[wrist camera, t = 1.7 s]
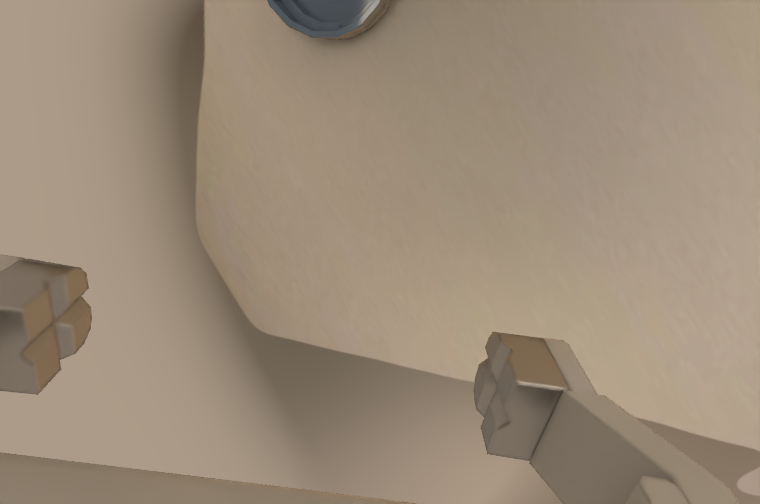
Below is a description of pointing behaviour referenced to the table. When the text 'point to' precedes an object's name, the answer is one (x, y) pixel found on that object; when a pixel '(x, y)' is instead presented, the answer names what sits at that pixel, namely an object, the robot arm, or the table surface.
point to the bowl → (330, 16)
